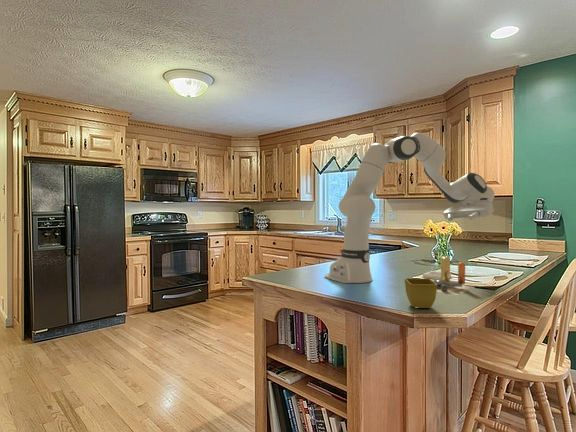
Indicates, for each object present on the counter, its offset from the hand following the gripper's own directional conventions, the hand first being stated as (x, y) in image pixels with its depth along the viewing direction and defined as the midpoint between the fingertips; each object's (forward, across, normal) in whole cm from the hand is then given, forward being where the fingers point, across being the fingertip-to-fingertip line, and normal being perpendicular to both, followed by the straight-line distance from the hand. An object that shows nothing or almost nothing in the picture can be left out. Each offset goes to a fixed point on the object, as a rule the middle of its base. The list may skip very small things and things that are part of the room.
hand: (459, 218), depth 157 cm
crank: (+25, +3, +18) cm, 31 cm away
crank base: (+26, 0, +19) cm, 33 cm away
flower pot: (+53, +9, +10) cm, 55 cm away
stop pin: (+20, -2, +21) cm, 29 cm away
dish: (+12, -11, +24) cm, 29 cm away
